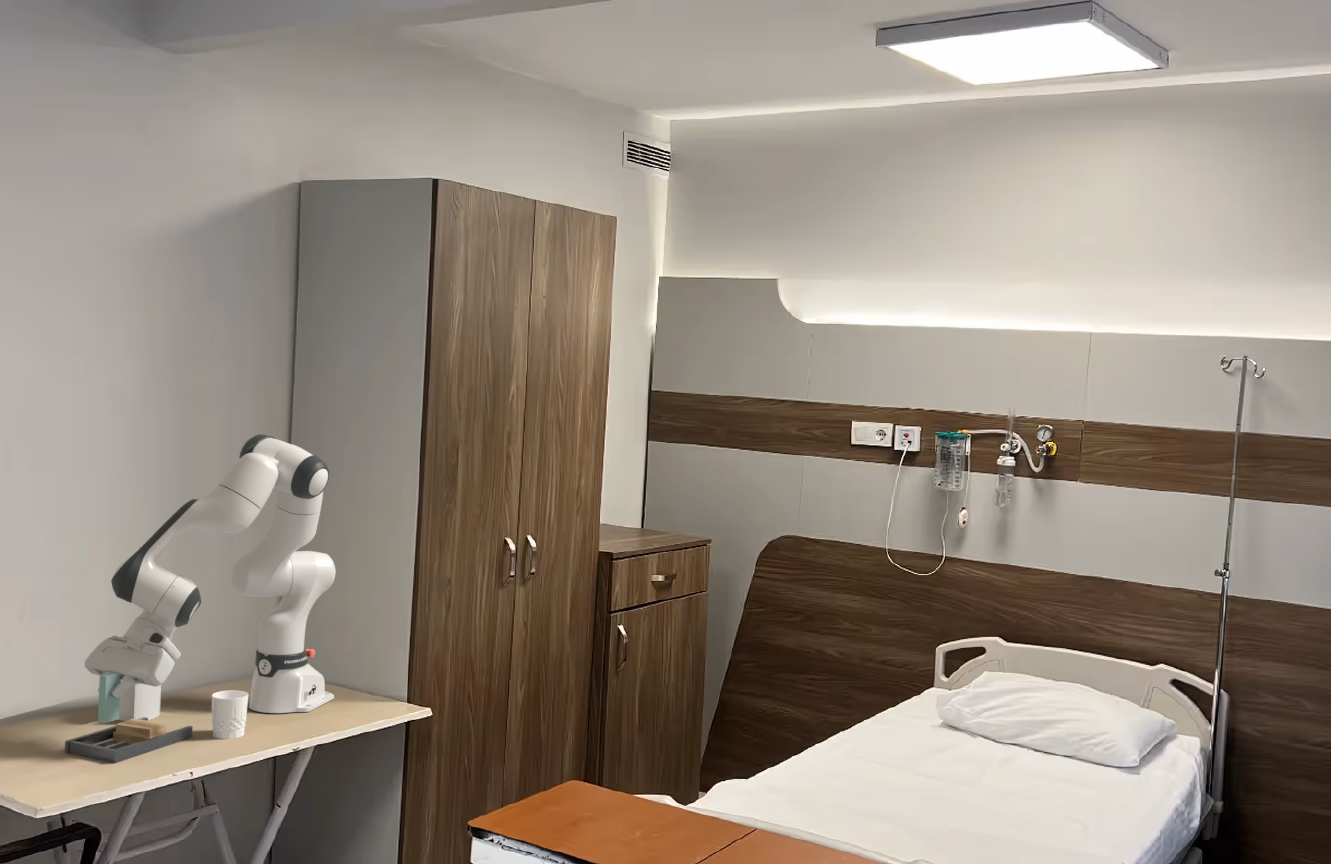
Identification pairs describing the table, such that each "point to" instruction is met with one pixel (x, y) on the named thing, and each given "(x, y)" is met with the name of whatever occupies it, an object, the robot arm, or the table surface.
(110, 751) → the tray
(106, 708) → the sage board
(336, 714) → the table surface
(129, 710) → the toilet tissue
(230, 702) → the white cup
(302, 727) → the table surface
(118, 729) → the offcut stack
